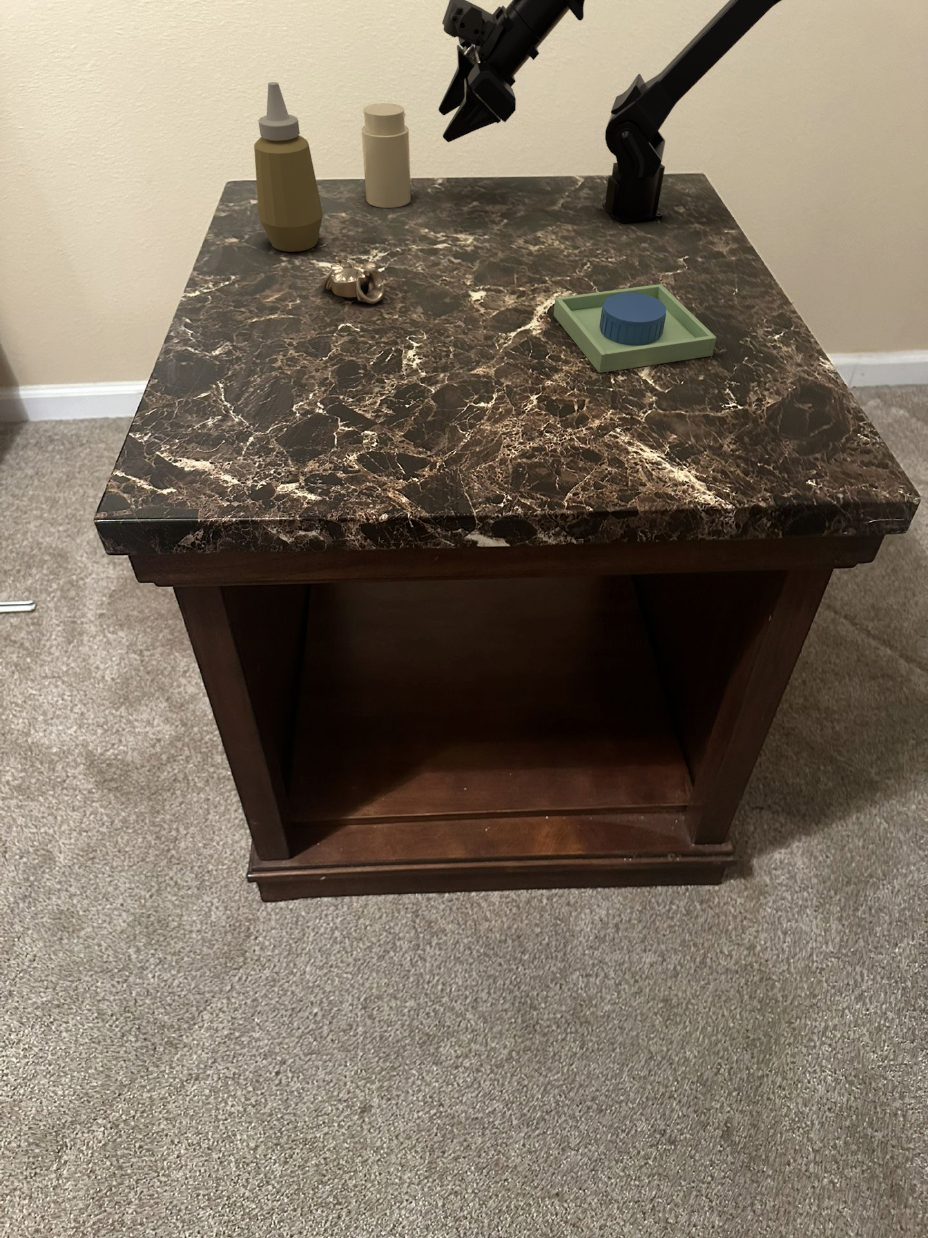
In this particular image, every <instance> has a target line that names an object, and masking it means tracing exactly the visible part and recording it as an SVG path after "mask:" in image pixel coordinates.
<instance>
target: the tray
mask: <svg viewBox="0 0 928 1238" xmlns="http://www.w3.org/2000/svg"><path fill="white" fill-rule="evenodd" d="M621 293H639V294H644V295H648V296H651V297H654V298H656V299H658V300H660V301H661V302H662V303H663V304H664V305H665V307H666V317H665V324H664V329H663V334H662V335H661V337H660V338H659V339H658V340H657V341H655V342H653V343H650V344H646V345H625V344H620V343H617V342H614V341H612V340H610V339H608V338H606V337H605V336H604V335H603V334H602V332H601V330H600V327H599V326H600V319H601V312H602V308H603V303H604V301H605V300H606V299H607V298H609V297H611V296H613V295H616V294H621ZM553 309H554V310H553V317H554V318H555V319H556V320H557V322H558V323H559V325H561V327H562V328H563V329H564V331H565V332H566V333H567V334H568V336H569V337H570V338H571V340H572V341H573V342H574V344H576V345H577V347H578V349H579V350H580V351H581V352H582V353H583V354H584V356H585V357H586V359H587V360H588V361H589V362H590V363H591V365H592V367H594V369H595V370H596V372H598V373H599V374H601V373H608V372H614V371H621V370H628V369H634V368H641V367H647V366H654V365H660V364H667V363H674V362H680V361H687V360H693V359H700V358H706V357H712V356H713V354H714V350H715V347H716V346H715V345H716V341H717V336H716V335H714V333H713V332H711V331H710V330H709V328H707V327H706V326H705V325H704V323H702V322H701V321H700V320H699V319H698V318H697V317H696V316H695V315H694V314H693V313H692V312H691V311H690V310H688V308H687V307H686V306H685V305H684V304H682V302H680V300H678V298H676V297H675V296H674V295H673V294H672V293H671V291H669V290H668V289H667V288H666V287H665V286H664V285H663V284H662V283H659V284H651V285H643V286H636V287H628V288H620V289H613V290H604V291H597V292H590V293H581V294H574V295H567V296H559V297H555V298H554V308H553Z"/></svg>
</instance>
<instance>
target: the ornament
mask: <svg viewBox="0 0 928 1238" xmlns="http://www.w3.org/2000/svg"><path fill="white" fill-rule="evenodd" d="M334 261H335V262H336V263H338V264H335V263H332V264H330V269H331V270H329V272H328V274H327V275H326V276H325V277H324V279H323V281H322V287H323V288H325V289H326V290H329V291H332V293H333V294H334V295H335V296H338V297H343V298H357V301H358V302H362V303H367V304H371V305H373V304H377V303H379V302H380V301H381V300H382V298H383V297H384V295H385V283H384V282H383V279H382V276H381V274H380V272H379V270H377V264H376V262H374V261H364V262H363V263H360V262H356V263H355V262H353V261H348V260H347V259H343V258H341V257H340V256H335V258H334ZM366 286H368V287H367V289H368V290H367V293H366V294H364V292H363V290H362V289H361V288H364V287H366Z"/></svg>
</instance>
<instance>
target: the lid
mask: <svg viewBox="0 0 928 1238" xmlns="http://www.w3.org/2000/svg"><path fill="white" fill-rule="evenodd" d="M665 317H666V307H665V305H664V304H663V303H662V302H661V301H660V300H658V299H656V298H654V297H651V296H648V295H644V294H639V293H621V294H616V295H613V296H611V297H609V298H607V299H606V300H605V301H604V303H603V308H602V312H601V319H600V326H599V327H600V330H601V332H602V334H603V335H604V336H605V337H606V338H608V339H610V340H612V341H614V342H617V343H620V344H625V345H646V344H650V343H653V342H655V341H657V340H658V339H659V338H660V337H661V335H662V334H663V329H664V324H665Z"/></svg>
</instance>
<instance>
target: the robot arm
mask: <svg viewBox="0 0 928 1238" xmlns="http://www.w3.org/2000/svg"><path fill="white" fill-rule="evenodd" d="M782 1H783V0H728V1H727V2H726V3H725V4H724V6H723V7H722V8H720V9H719V10H718V12H717V13H716V14H715V15H714V16H713V17H712V18H711V19H710V20H709V21H708V22H707V23H706V24H705V26H703V27H702V29H701V30H699V32H697V34H696V35H695V36H694V37H693V38H692V39H691V40H690V41H689V42H688V43H687V44H686V45H685V46H684V47H683V49H682V50H681V51H680V52H679V53H678V54H677V55H676V56H674V58H672V60H671V61H670V62H669V63H668V64H667V65H666V66H665V67H664V68H663V70H661V71H660V72H659V73H658V74H657V75H655V76H653V77H652V78H649V80H647V81H646V82H645V80H644V79H643V76H642V74H640V73H638V74H637V75H636V76H635V78H634V79H633V80H632V82H631V84H630V85H629V87H628V88H627V89H626V90H625V91H624V92H622V93H620V94H619V95H617V96H616V97H615V99H614V102H613V104H612V107H611V110H610V116H609V120H608V122H607V125H606V127H605V130H604V131H605V133H604V140H605V144H606V147H607V149H608V150H609V152H610V153H611V154H612V155H613V156H615V160H616V162H612V163H613V164H612V170H611V175H609V176H608V179H607V186H606V193H605V201H604V202H602V208H603V209H604V210H605V211H607V212H608V213H609V214H610V215H611V216H612V217H613V218H614V219H615V220H616V221H618V223H622V224H625V223H633V222H642V221H651V220H660V219H662V218H663V216H664V215H663V213H662V212H661V211H660V210H658V209H659V204H660V198H661V192H662V188H663V181H664V175H665V170H666V166H665V165H664V164H662V161H663V156H664V150H665V146H666V139H665V138H664V137H663V135H662V134H661V132H660V131H659V130H660V129H661V127H662V126H663V124H664V123H665V121H666V120H667V118H668V116H669V115H670V114H671V112H672V111H673V109H674V108H675V106H676V105H677V103H678V102H679V101H680V100H682V98H683V97H684V96H685V95H686V94H687V93H688V92H689V91H690V90H691V89H692V88H693V87H694V86H695V85H696V84H697V83H698V82H699V81H700V80H701V79H702V78H703V77H704V76H705V75H706V74H707V73H708V72H709V71H710V70H711V69H712V68H713V67H714V66H715V65H716V64H717V63H718V62H719V61H720V60H722V58H723V57H724V56H725V55H726V54H727V53H728V52H729V51H730V50H731V49H732V48H733V47H734V46H735V45H736V44H737V43H738V42H739V41H740V40H741V39H742V38H743V37H744V36H745V35H746V34H747V33H748V32H749V31H750V30H751V29H752V28H753V27H754V26H755V25H756V24H757V23H758V22H759V21H760V20H761V19H762V18H763V17H764V16H765V15H766V14H767V13H768V12H769V11H770V10H771V9H772V8H773V7H774V6H776V5H777V4H778V3H780V2H782ZM585 2H586V0H511V2H510V3H509V4H508V5H507V6H506V7H505V6H504V5H502V6H500V5H499V6H497V8H496V9H495V11H494V12H493V13H491V12H489V11H487V10H486V9H484V8H482V7H480V6H478V5H477V4H475V3H472V2H470V1H468V0H448V4H447V7H446V10H445V13H444V16H443V19H442V22H441V24H442V25H443V31H444V32H445V34H447V35H448V36H450V37H452V38H458V44H457V45H456V56H457V57H456V59H457V66H456V70H455V72H454V74H453V76H452V79H451V81H450V83H449V85H448V87H447V89H446V92H444V93H445V94H444V96H443V98H442V100H441V102H440V104H439V106H438V112H439V113H440V114H441V115H442V116H446V115H448V114H450V113H451V112H453V111H454V110H456V112H455V113H454V114H453V116H452V117H451V120H450V121H449V122H448V125H447V127H446V128H445V130H444V131H443V134H442V138H443V139H444V140H445V141H446V142H447V143H451V142H453V141H455V140H457V139H460V138H462V137H465V136H466V135H469V134H470V133H472V132H473V133H474V132H475V131H477V130H481V129H482V128H485V127H487V126H490V125H493V124H499V123H501V122H503V123H506V122H507V121H508V120H509V119H510V118H511V117H512V115H513V114H514V113H515V112H516V109H517V108H516V107H517V106H516V105H517V98H516V95H515V92H514V89H513V85H514V84H515V83H516V82H517V81H516V77H515V76H516V74H517V73H518V72H519V71H520V70H521V68H522V67H523V66H524V65H525V63H526V62H527V61H528V60H529V59H530V58H531V59H532V61H535V59H536V58H537V57H538V56H539V55H540V52H539V50H538V48H539V47H540V46H541V44H542V43H543V42H544V41H545V40H546V39H547V37H548V36H549V35H550V34H551V33H552V31H553V30H554V29H555V28H556V27H557V25H558V24H559V23H560V22H561V21H562V19H563V18H564V17H565V15H567V13H568V12H569V11H570V12H571V13H572V14H573V16H574V17H575V18H576V19H577V21H580V22H581V21H582V20H583V19H584V17H585V13H584V11H585V10H584V6H585Z"/></svg>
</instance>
